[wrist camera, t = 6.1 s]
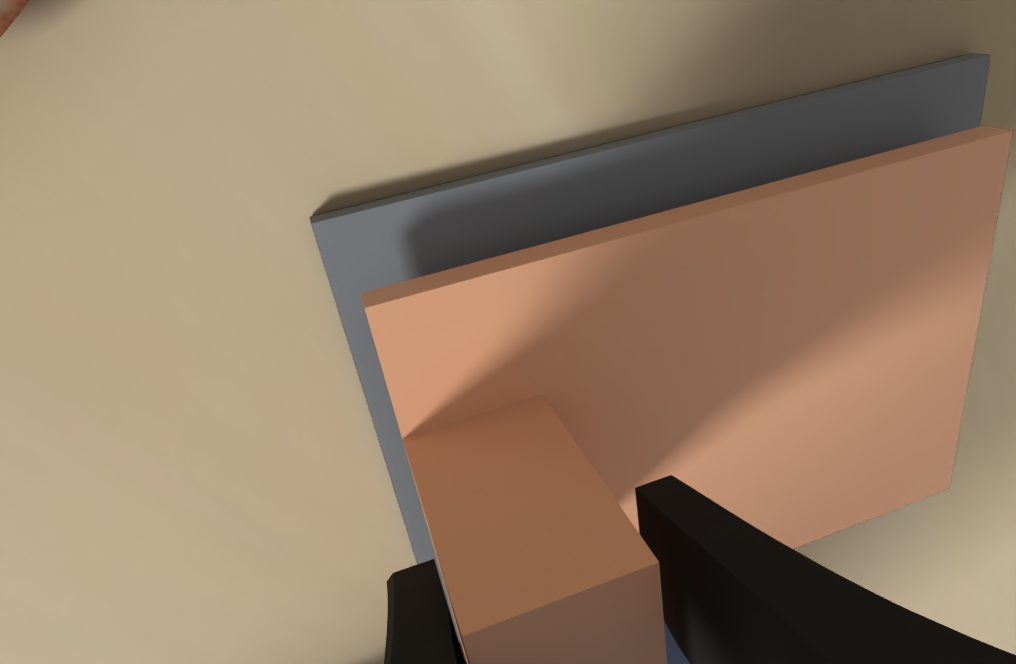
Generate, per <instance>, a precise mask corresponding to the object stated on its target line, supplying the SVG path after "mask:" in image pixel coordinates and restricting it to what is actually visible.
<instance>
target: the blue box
mask: <svg viewBox="0 0 1016 664" xmlns="http://www.w3.org/2000/svg"><path fill="white" fill-rule="evenodd" d="M664 628H665V640H666V653H667V664H690V663H689V661H688V660H687V658H686V657H685V655H684V654H683V652H682V651H681V649H680V648H679V646H678V645H677V643H676V641H675V640H674V638H673V636H672V634H671V632H670V630H669V629H668V627H667V625H666V623H665V621H664ZM465 664H467V662H466V663H465Z"/></svg>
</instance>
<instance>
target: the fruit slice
mask: <svg viewBox="0 0 1016 664" xmlns="http://www.w3.org/2000/svg"><path fill="white" fill-rule="evenodd" d="M28 1H29V0H0V37H1V36H2V34H3V33H4V32H5V31H6V30H7V28H8V27H9V26H10V24H11V23H12V22H13V21H14V19H15V18H16V17H17V15H18V14H19V13H20V11H21V10H22V9H23V8H24V6H25V5H26V4H27V2H28Z"/></svg>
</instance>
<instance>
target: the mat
mask: <svg viewBox="0 0 1016 664" xmlns="http://www.w3.org/2000/svg"><path fill="white" fill-rule="evenodd" d="M990 56H991V55H988V54H973V53H972V54H968V55H964V56H960V57H956V58H952V59H948V60H944V61H940V62H936V63H932V64H928V65H923V66H919V67H915V68H911V69H907V70H903V71H899V72H895V73H891V74H887V75H883V76H879V77H875V78H871V79H867V80H863V81H859V82H855V83H850V84H846V85H842V86H838V87H834V88H830V89H826V90H822V91H818V92H814V93H810V94H806V95H802V96H798V97H794V98H790V99H786V100H782V101H778V102H773V103H769V104H765V105H761V106H757V107H753V108H749V109H745V110H741V111H737V112H733V113H729V114H725V115H721V116H717V117H713V118H709V119H705V120H701V121H696V122H692V123H688V124H684V125H680V126H676V127H672V128H668V129H664V130H660V131H656V132H652V133H648V134H644V135H640V136H636V137H632V138H628V139H624V140H619V141H615V142H611V143H607V144H603V145H599V146H595V147H591V148H587V149H583V150H579V151H575V152H571V153H567V154H563V155H559V156H555V157H551V158H546V159H542V160H538V161H534V162H530V163H526V164H522V165H518V166H514V167H510V168H506V169H502V170H498V171H494V172H490V173H486V174H482V175H478V176H474V177H469V178H465V179H461V180H457V181H453V182H449V183H445V184H441V185H437V186H433V187H429V188H425V189H421V190H417V191H413V192H409V193H405V194H401V195H397V196H392V197H388V198H384V199H380V200H376V201H372V202H368V203H364V204H360V205H356V206H352V207H348V208H344V209H340V210H336V211H332V212H328V213H324V214H319V215H315V216H311V217H310V221H311V225H312V228H313V232H314V235H315V238H316V241H317V244H318V248H319V251H320V254H321V257H322V260H323V264H324V267H325V270H326V273H327V276H328V280H329V283H330V286H331V289H332V292H333V296H334V299H335V302H336V305H337V308H338V312H339V315H340V318H341V321H342V324H343V328H344V331H345V334H346V337H347V340H348V344H349V347H350V350H351V353H352V356H353V360H354V363H355V366H356V369H357V372H358V376H359V379H360V382H361V385H362V388H363V392H364V395H365V398H366V401H367V404H368V408H369V411H370V414H371V417H372V420H373V424H374V427H375V430H376V433H377V436H378V440H379V443H380V446H381V449H382V452H383V456H384V459H385V462H386V465H387V468H388V472H389V475H390V478H391V481H392V484H393V488H394V491H395V494H396V497H397V500H398V504H399V507H400V510H401V513H402V516H403V520H404V523H405V526H406V529H407V532H408V536H409V539H410V542H411V545H412V548H413V552H414V555H415V558H416V561H417V564H420V563H423V562H426V561H429V560H432V559H434V560H435V563H436V567H437V570H438V573H439V577H440V580H441V583H442V587H443V590H444V594H445V597H446V600H447V604H448V607H449V611H450V614H451V617H452V621H453V624H454V628H455V631H456V634H457V638H458V641H459V643H460V642H461V640H460V637H459V633H458V630H457V627H456V623H455V620H454V616H453V613H452V609H451V606H450V602H449V599H448V595H447V592H446V588H445V585H444V582H443V578H442V575H441V571H440V568H439V564H438V561H437V557H436V554H435V550H434V547H433V544H432V540H431V537H430V533H429V530H428V526H427V523H426V519H425V516H424V512H423V509H422V505H421V502H420V499H419V495H418V492H417V488H416V485H415V481H414V478H413V474H412V471H411V467H410V464H409V461H408V457H407V454H406V450H405V447H404V443H403V440H402V436H401V433H400V429H399V426H398V422H397V419H396V416H395V412H394V409H393V405H392V402H391V398H390V395H389V391H388V388H387V384H386V381H385V378H384V374H383V371H382V367H381V364H380V360H379V357H378V353H377V350H376V346H375V343H374V339H373V336H372V333H371V329H370V326H369V322H368V319H367V315H366V312H365V308H364V305H363V301H362V298H361V295H360V293H363V292H366V291H370V290H374V289H377V288H381V287H385V286H389V285H392V284H396V283H400V282H403V281H407V280H411V279H415V278H418V277H422V276H426V275H430V274H433V273H437V272H441V271H444V270H448V269H452V268H456V267H459V266H463V265H467V264H470V263H474V262H478V261H482V260H485V259H489V258H493V257H496V256H500V255H504V254H508V253H511V252H515V251H519V250H522V249H526V248H530V247H534V246H537V245H541V244H545V243H549V242H552V241H556V240H560V239H563V238H567V237H571V236H575V235H578V234H582V233H586V232H589V231H593V230H597V229H601V228H604V227H608V226H612V225H615V224H619V223H623V222H627V221H630V220H634V219H638V218H641V217H645V216H649V215H653V214H656V213H660V212H664V211H667V210H671V209H675V208H679V207H682V206H686V205H690V204H694V203H697V202H701V201H705V200H708V199H712V198H716V197H720V196H723V195H727V194H731V193H734V192H738V191H742V190H746V189H749V188H753V187H757V186H760V185H764V184H768V183H772V182H775V181H779V180H783V179H786V178H790V177H794V176H798V175H801V174H805V173H809V172H812V171H816V170H820V169H824V168H827V167H831V166H835V165H839V164H842V163H846V162H850V161H853V160H857V159H861V158H865V157H868V156H872V155H876V154H879V153H883V152H887V151H891V150H894V149H898V148H902V147H905V146H909V145H913V144H917V143H920V142H924V141H928V140H931V139H935V138H939V137H943V136H946V135H950V134H954V133H958V132H961V131H965V130H969V129H972V128H976V127H980V121H981V115H982V108H983V101H984V95H985V88H986V82H987V75H988V69H989V62H990Z"/></svg>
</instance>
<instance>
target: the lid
mask: <svg viewBox="0 0 1016 664" xmlns="http://www.w3.org/2000/svg"><path fill="white" fill-rule="evenodd" d="M1012 133H1013V131H1011V130H1005V129H999V128H993V127H987V126H980V127H976V128H972V129H969V130H965V131H961V132H958V133H954V134H950V135H946V136H943V137H939V138H935V139H931V140H928V141H924V142H920V143H917V144H913V145H909V146H905V147H902V148H898V149H894V150H891V151H887V152H883V153H879V154H876V155H872V156H868V157H865V158H861V159H857V160H853V161H850V162H846V163H842V164H839V165H835V166H831V167H827V168H824V169H820V170H816V171H812V172H809V173H805V174H801V175H798V176H794V177H790V178H786V179H783V180H779V181H775V182H772V183H768V184H764V185H760V186H757V187H753V188H749V189H746V190H742V191H738V192H734V193H731V194H727V195H723V196H720V197H716V198H712V199H708V200H705V201H701V202H697V203H694V204H690V205H686V206H682V207H679V208H675V209H671V210H667V211H664V212H660V213H656V214H653V215H649V216H645V217H641V218H638V219H634V220H630V221H627V222H623V223H619V224H615V225H612V226H608V227H604V228H601V229H597V230H593V231H589V232H586V233H582V234H578V235H575V236H571V237H567V238H563V239H560V240H556V241H552V242H549V243H545V244H541V245H537V246H534V247H530V248H526V249H522V250H519V251H515V252H511V253H508V254H504V255H500V256H496V257H493V258H489V259H485V260H482V261H478V262H474V263H470V264H467V265H463V266H459V267H456V268H452V269H448V270H444V271H441V272H437V273H433V274H430V275H426V276H422V277H418V278H415V279H411V280H407V281H403V282H400V283H396V284H392V285H389V286H385V287H381V288H377V289H374V290H370V291H366V292H363V293H360V295H361V298H362V301H363V305H364V308H365V312H366V315H367V319H368V322H369V326H370V329H371V333H372V336H373V339H374V343H375V346H376V350H377V353H378V357H379V360H380V364H381V367H382V371H383V374H384V378H385V381H386V384H387V388H388V391H389V395H390V398H391V402H392V405H393V409H394V412H395V416H396V419H397V422H398V426H399V429H400V433H401V436H402V440H403V443H404V447H405V450H406V454H407V457H408V461H409V464H410V467H411V471H412V474H413V478H414V481H415V485H416V488H417V492H418V495H419V499H420V502H421V505H422V509H423V512H424V516H425V519H426V523H427V526H428V530H429V533H430V537H431V540H432V544H433V547H434V550H435V554H436V557H437V561H438V564H439V568H440V571H441V575H442V578H443V582H444V585H445V588H446V592H447V595H448V599H449V602H450V606H451V609H452V613H453V616H454V620H455V623H456V627H457V630H458V633H459V637H460V640H461V644H462V647H463V651H464V654H465V657H466V661H467V664H667V653H666V640H665V628H664V616H663V604H662V592H661V579H660V567H659V561H658V560H657V558H656V557H655V556H654V554H653V553H652V551H651V550H650V548H649V547H648V545H647V544H646V543H645V541H644V540H643V538H642V537H641V535H640V534H639V524H638V514H637V504H636V494H635V488H636V487H638V486H641V485H644V484H647V483H650V482H652V481H655V480H658V479H661V478H664V477H667V476H669V475H672V476H674V477H676V478H677V479H679V480H681V481H682V482H684V483H685V484H687V485H689V486H690V487H692V488H693V489H695V490H697V491H698V492H700V493H701V494H703V495H704V496H706V497H708V498H709V499H711V500H712V501H714V502H716V503H717V504H719V505H720V506H722V507H723V508H725V509H727V510H728V511H730V512H731V513H733V514H735V515H736V516H738V517H740V518H741V519H743V520H744V521H746V522H748V523H749V524H751V525H753V526H754V527H756V528H758V529H759V530H761V531H763V532H764V533H766V534H768V535H769V536H771V537H773V538H774V539H776V540H778V541H780V542H781V543H783V544H785V545H786V546H788V547H790V548H792V549H794V548H797V547H799V546H802V545H805V544H807V543H810V542H812V541H815V540H817V539H820V538H823V537H825V536H828V535H830V534H833V533H835V532H838V531H841V530H843V529H846V528H848V527H851V526H853V525H856V524H859V523H861V522H864V521H866V520H869V519H872V518H874V517H877V516H879V515H882V514H884V513H887V512H890V511H892V510H895V509H897V508H900V507H902V506H905V505H908V504H910V503H913V502H915V501H918V500H921V499H923V498H926V497H928V496H931V495H933V494H936V493H939V492H941V491H944V490H946V489H949V487H950V482H951V476H952V471H953V465H954V459H955V454H956V448H957V442H958V437H959V431H960V426H961V420H962V414H963V409H964V403H965V397H966V392H967V386H968V381H969V375H970V369H971V364H972V358H973V353H974V347H975V341H976V336H977V330H978V324H979V319H980V313H981V308H982V302H983V296H984V291H985V285H986V279H987V274H988V268H989V263H990V257H991V251H992V246H993V240H994V234H995V229H996V223H997V218H998V212H999V206H1000V201H1001V195H1002V189H1003V184H1004V178H1005V173H1006V167H1007V161H1008V156H1009V150H1010V145H1011V139H1012Z"/></svg>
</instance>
